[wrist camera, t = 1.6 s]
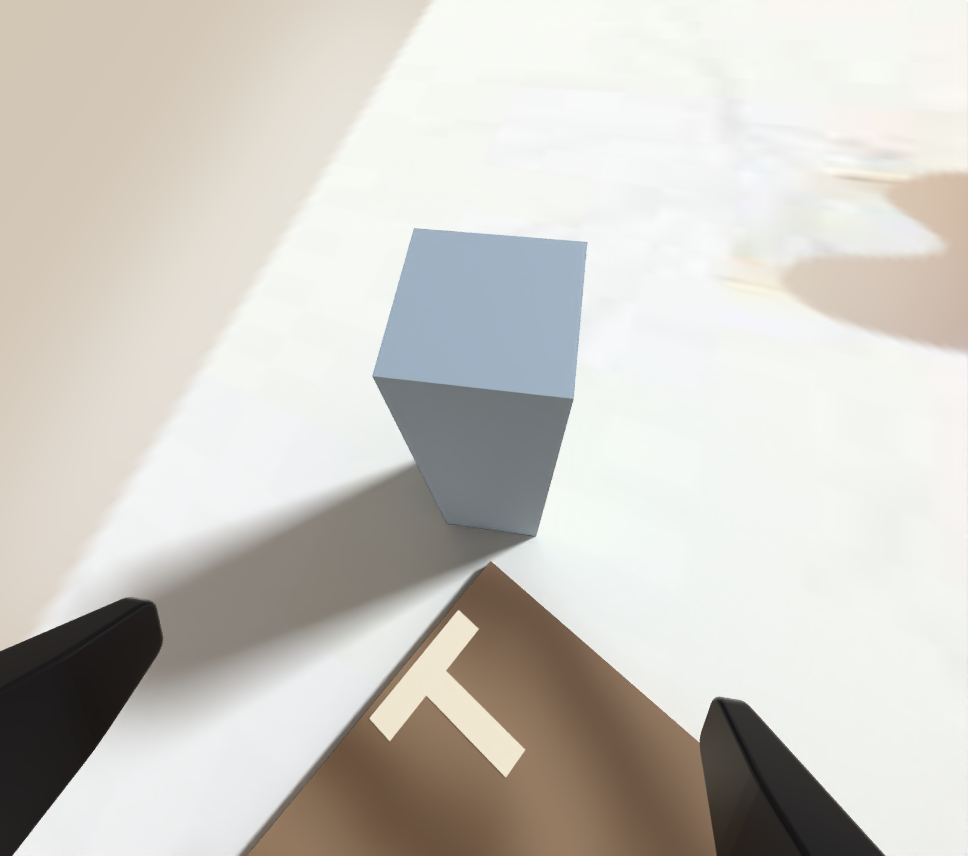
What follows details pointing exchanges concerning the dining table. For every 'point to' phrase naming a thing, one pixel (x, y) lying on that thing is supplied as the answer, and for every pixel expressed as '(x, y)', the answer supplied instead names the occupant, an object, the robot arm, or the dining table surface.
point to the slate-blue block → (484, 369)
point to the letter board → (504, 752)
